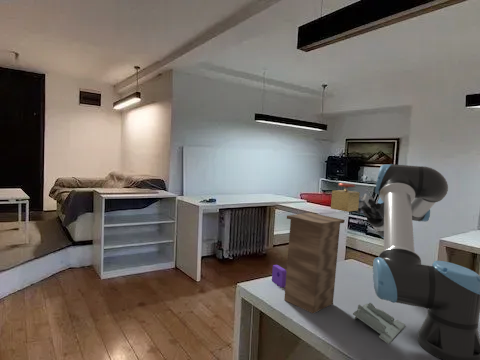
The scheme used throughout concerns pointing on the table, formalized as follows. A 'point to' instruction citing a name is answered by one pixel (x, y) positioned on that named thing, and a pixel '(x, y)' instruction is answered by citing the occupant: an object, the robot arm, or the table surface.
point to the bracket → (279, 275)
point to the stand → (312, 260)
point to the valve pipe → (347, 199)
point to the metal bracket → (379, 321)
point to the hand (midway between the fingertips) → (358, 195)
